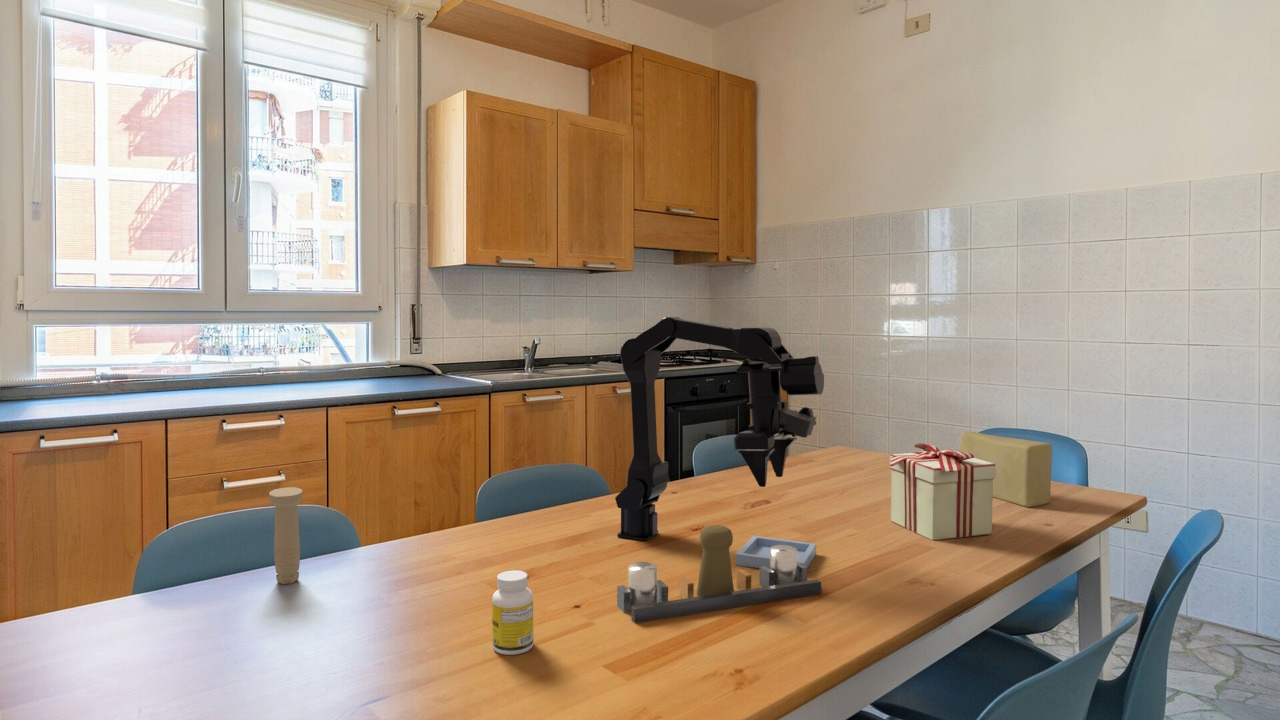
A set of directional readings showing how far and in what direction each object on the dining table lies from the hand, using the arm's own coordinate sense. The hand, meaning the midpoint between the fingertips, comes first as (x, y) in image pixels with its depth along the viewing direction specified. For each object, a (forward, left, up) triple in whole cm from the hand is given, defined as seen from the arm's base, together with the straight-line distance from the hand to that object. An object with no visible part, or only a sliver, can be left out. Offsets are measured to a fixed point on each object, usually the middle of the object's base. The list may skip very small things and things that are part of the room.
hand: (771, 481), depth 135 cm
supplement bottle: (-23, -50, -14) cm, 57 cm away
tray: (+1, 0, -14) cm, 14 cm away
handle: (-70, -45, -14) cm, 84 cm away
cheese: (+40, +71, -15) cm, 83 cm away
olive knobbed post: (-4, -21, -14) cm, 26 cm away
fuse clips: (-2, -22, -14) cm, 27 cm away
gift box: (+27, +33, -15) cm, 45 cm away
